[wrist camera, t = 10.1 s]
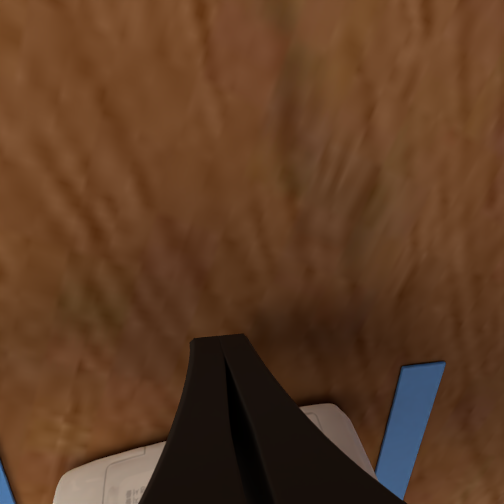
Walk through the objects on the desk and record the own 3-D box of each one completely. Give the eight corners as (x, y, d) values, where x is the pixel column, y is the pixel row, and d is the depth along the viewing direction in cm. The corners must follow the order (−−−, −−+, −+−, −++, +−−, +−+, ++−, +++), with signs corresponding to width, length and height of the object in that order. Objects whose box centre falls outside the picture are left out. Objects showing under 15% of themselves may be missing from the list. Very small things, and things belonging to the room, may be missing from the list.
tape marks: (444, 361, 16) (446, 363, 16) (400, 502, 19) (401, 504, 19) (-78, 422, 13) (-80, 424, 13) (-9, 574, 17) (-10, 577, 16)
